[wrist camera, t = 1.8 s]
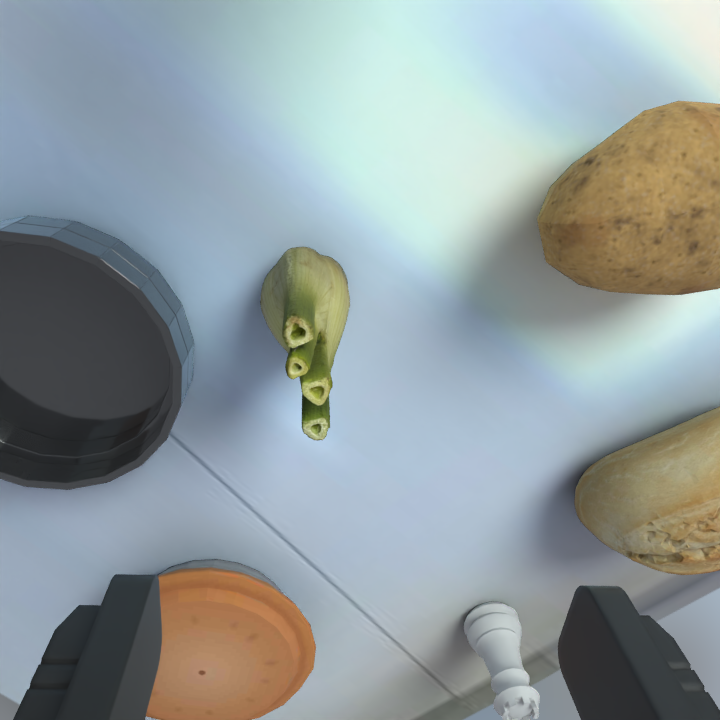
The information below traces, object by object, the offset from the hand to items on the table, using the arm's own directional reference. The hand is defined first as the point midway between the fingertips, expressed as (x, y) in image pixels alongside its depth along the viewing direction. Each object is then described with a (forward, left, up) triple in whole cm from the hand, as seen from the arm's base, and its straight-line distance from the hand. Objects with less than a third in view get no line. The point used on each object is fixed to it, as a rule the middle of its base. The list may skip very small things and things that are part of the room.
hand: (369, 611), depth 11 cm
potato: (+5, +17, -26) cm, 31 cm away
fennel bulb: (+1, -2, -26) cm, 26 cm away
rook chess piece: (+32, -3, -26) cm, 41 cm away
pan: (-3, -16, -25) cm, 30 cm away
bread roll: (+24, +14, -26) cm, 38 cm away
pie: (+20, -21, -26) cm, 39 cm away
